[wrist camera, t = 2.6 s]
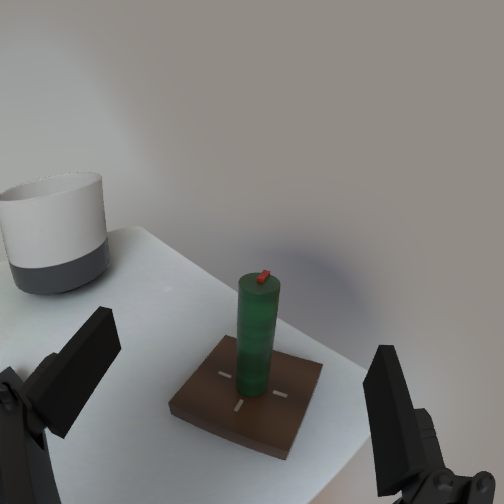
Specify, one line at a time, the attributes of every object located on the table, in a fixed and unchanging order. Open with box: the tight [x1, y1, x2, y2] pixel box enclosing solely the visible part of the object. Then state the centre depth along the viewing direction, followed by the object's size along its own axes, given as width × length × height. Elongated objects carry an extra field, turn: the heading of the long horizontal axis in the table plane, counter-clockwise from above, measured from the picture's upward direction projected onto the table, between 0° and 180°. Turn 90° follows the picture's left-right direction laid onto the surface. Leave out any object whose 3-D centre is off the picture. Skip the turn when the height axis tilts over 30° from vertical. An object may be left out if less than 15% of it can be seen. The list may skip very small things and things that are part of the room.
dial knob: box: [236, 270, 280, 397], centre depth 25 cm, size 3×3×12 cm
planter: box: [0, 173, 110, 295], centre depth 43 cm, size 19×19×18 cm
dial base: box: [169, 335, 323, 460], centre depth 28 cm, size 12×12×2 cm
